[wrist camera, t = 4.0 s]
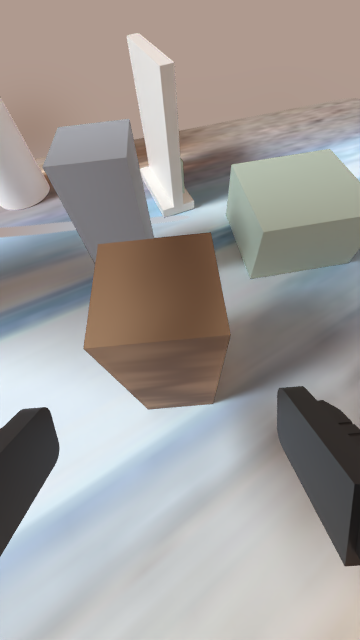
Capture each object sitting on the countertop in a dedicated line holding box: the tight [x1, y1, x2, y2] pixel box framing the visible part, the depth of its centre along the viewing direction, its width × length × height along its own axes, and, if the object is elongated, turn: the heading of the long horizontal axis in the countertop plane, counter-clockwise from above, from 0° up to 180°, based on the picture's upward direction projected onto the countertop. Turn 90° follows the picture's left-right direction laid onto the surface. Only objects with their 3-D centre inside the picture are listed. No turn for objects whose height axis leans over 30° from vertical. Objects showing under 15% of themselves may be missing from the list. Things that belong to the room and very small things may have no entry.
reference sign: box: [127, 33, 194, 218], centre depth 27 cm, size 4×10×13 cm, turn 20°
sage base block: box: [226, 149, 360, 279], centre depth 24 cm, size 10×10×6 cm
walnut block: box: [83, 232, 231, 409], centre depth 15 cm, size 5×5×12 cm
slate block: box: [43, 119, 154, 263], centre depth 21 cm, size 5×5×12 cm
